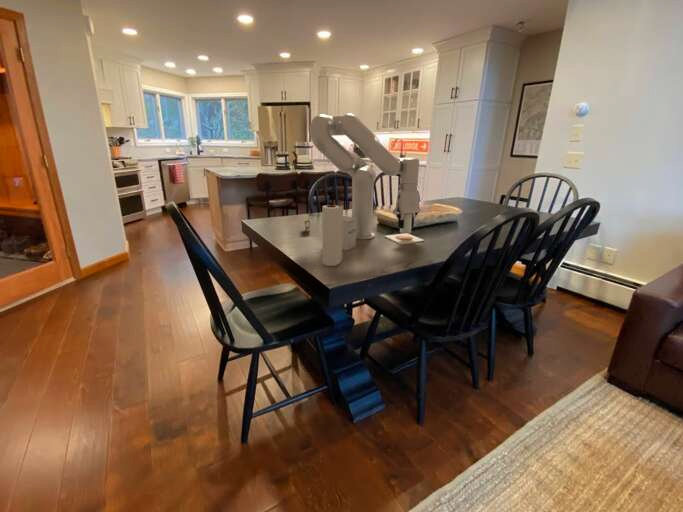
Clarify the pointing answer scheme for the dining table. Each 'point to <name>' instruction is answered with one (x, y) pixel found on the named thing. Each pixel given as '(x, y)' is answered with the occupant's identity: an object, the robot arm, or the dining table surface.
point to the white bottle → (349, 233)
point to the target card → (404, 238)
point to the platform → (307, 224)
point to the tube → (407, 223)
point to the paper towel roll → (332, 234)
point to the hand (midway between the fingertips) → (405, 226)
